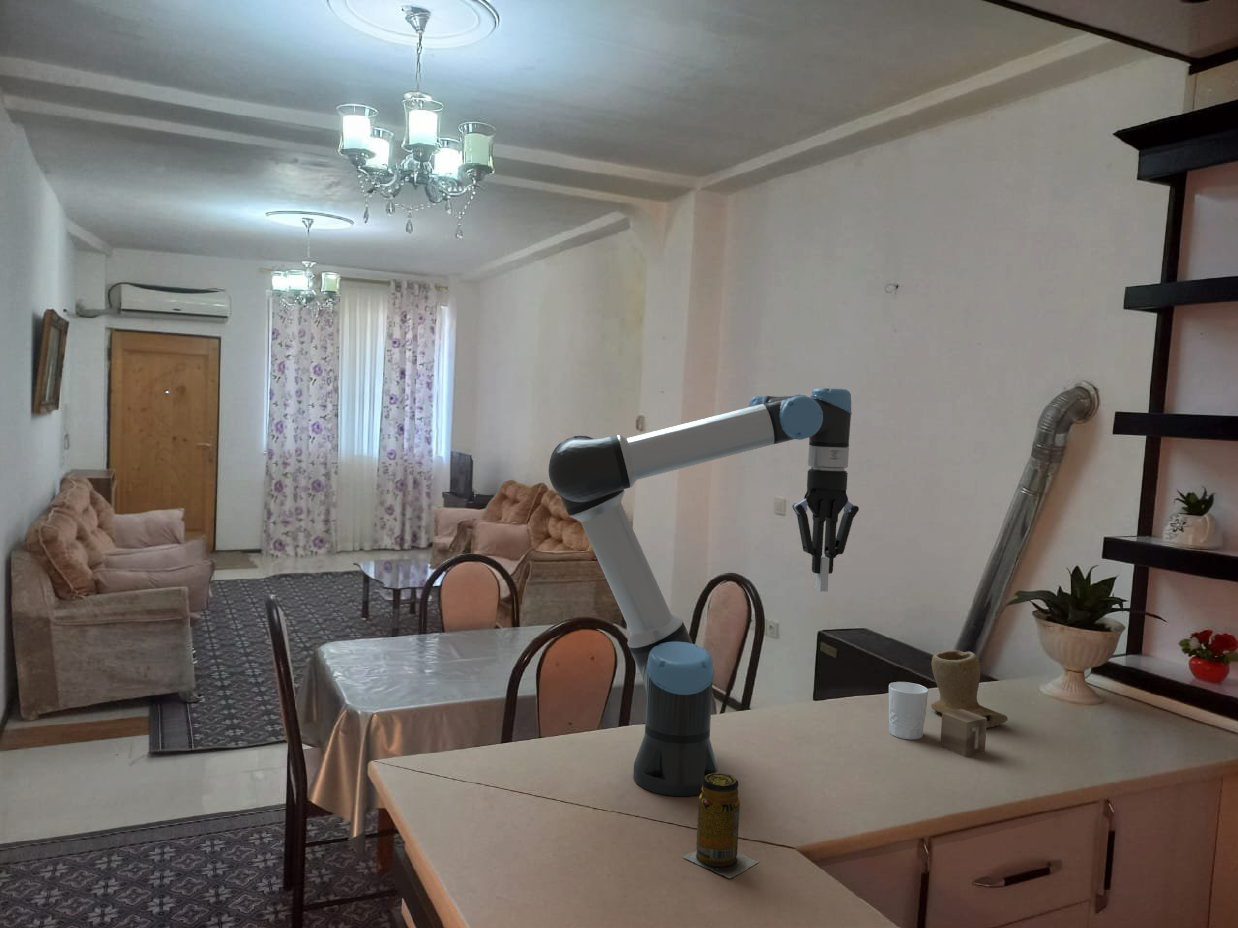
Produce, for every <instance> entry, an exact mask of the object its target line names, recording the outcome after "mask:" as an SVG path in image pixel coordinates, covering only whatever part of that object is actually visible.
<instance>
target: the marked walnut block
mask: <svg viewBox="0 0 1238 928" xmlns="http://www.w3.org/2000/svg"><path fill="white" fill-rule="evenodd" d="M986 727H987V718H985V717H982V716H979V715H977V714H974V713H971V712H969V711H966V710H963V709H960V710H955V711H950V712H945V713H941V726H940V729H941V730H940V743H939V745H940V746H939V747H940V748H943V749H946V750H948V751H951V752H952V753H954V754H957V755H959V756H962V757H963V758H966V757H970V756H974V755H978V754H979V755H980V754H983V753H984V754H985V752H986V742H987V741H986V739H987V728H986Z"/></svg>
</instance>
